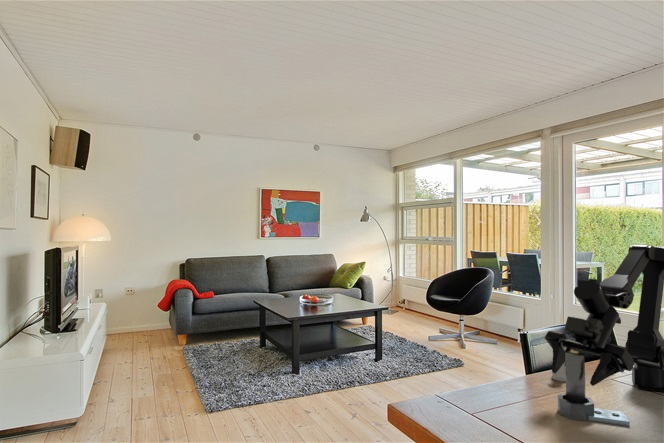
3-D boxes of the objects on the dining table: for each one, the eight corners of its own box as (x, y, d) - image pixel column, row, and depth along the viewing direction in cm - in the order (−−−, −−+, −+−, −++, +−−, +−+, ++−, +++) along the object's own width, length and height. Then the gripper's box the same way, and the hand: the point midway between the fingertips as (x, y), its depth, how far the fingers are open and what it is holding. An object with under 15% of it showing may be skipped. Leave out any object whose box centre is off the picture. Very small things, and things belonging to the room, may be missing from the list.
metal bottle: (582, 406, 101) (580, 348, 101) (588, 413, 97) (587, 353, 97) (563, 405, 102) (562, 347, 102) (569, 412, 98) (568, 352, 98)
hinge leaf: (622, 414, 99) (621, 399, 99) (630, 427, 92) (630, 411, 92) (557, 405, 104) (556, 391, 104) (560, 417, 97) (560, 402, 97)
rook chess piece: (571, 382, 120) (570, 354, 120) (554, 381, 121) (553, 353, 121) (565, 377, 124) (565, 350, 125) (549, 376, 125) (549, 349, 125)
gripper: (548, 299, 110) (520, 347, 104) (626, 311, 93) (597, 368, 88) (567, 326, 113) (541, 374, 108) (645, 342, 97) (619, 399, 91)
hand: (571, 378), depth 99 cm, fingers open, 9 cm apart
